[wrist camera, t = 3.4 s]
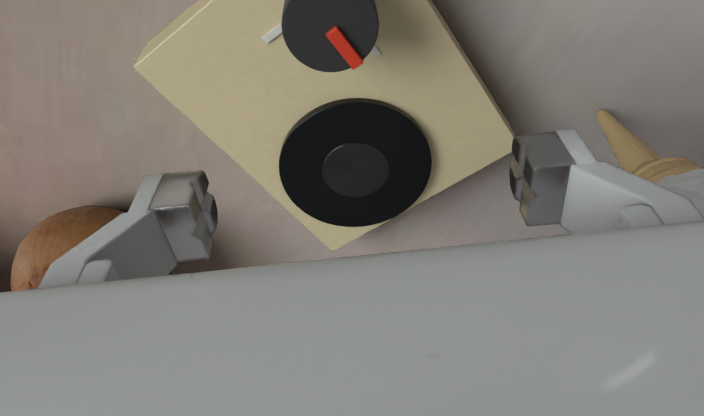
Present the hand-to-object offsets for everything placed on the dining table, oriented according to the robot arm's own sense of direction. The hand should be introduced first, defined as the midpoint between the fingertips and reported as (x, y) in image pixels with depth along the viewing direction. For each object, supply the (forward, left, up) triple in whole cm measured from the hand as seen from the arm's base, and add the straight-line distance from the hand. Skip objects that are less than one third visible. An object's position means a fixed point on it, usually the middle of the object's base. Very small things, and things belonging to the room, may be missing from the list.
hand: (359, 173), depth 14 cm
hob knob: (0, -1, -15) cm, 15 cm away
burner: (+9, -6, -15) cm, 18 cm away
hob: (+5, -4, -18) cm, 19 cm away
